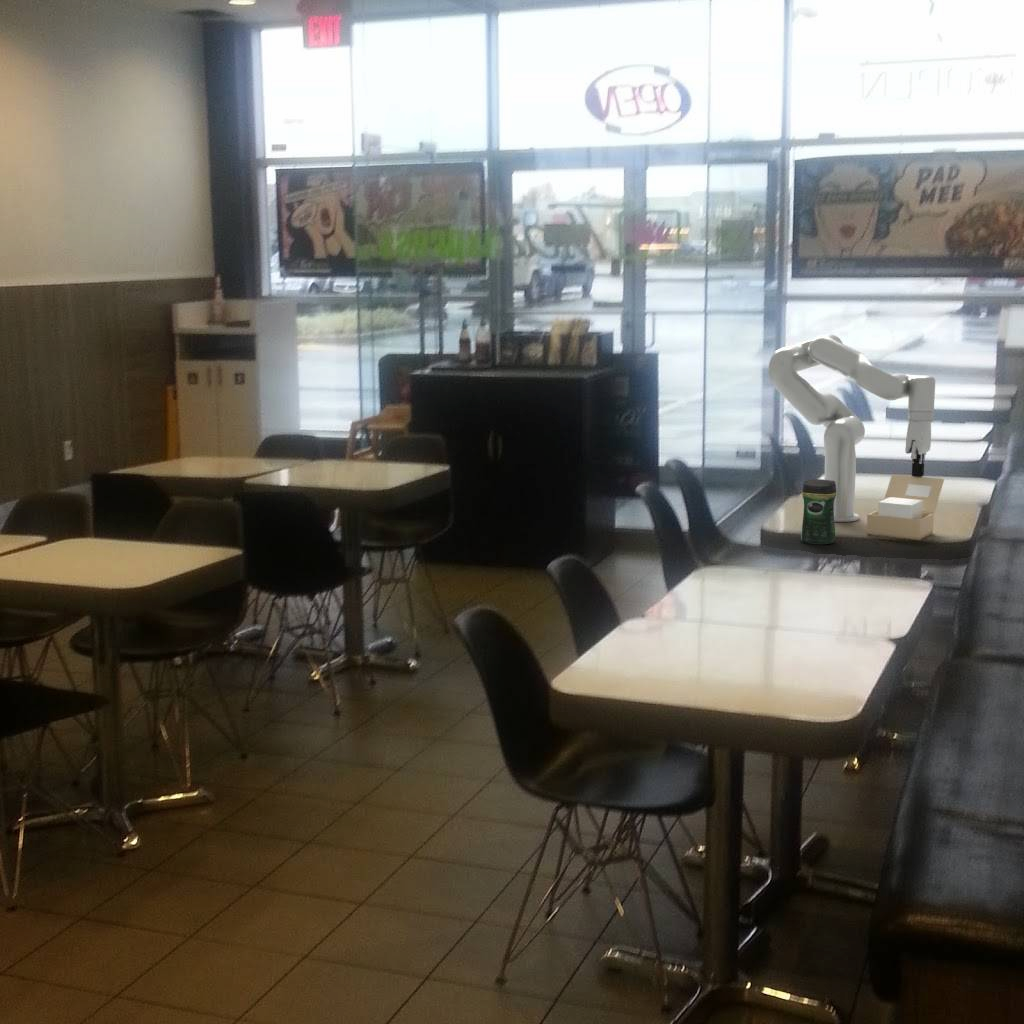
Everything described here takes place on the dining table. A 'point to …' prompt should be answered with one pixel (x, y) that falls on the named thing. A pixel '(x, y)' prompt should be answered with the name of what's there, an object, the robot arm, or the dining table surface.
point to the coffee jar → (818, 511)
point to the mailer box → (900, 519)
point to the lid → (916, 490)
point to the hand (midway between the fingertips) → (917, 475)
